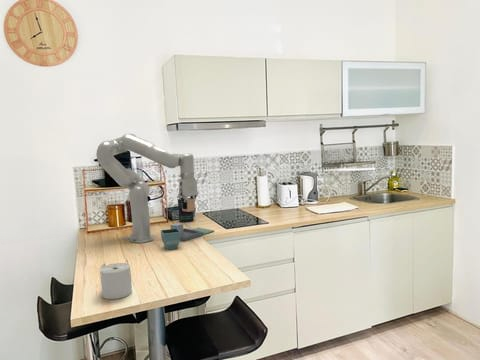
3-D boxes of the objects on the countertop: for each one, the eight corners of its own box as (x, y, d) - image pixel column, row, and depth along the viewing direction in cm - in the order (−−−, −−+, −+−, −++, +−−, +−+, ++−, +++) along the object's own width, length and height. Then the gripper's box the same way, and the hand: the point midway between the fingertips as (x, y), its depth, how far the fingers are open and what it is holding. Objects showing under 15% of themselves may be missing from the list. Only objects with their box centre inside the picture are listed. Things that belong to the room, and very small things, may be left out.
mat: (204, 234, 222) (204, 233, 222) (188, 231, 231) (188, 230, 231) (214, 231, 228) (214, 230, 228) (198, 228, 237) (198, 227, 237)
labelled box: (188, 211, 214) (187, 200, 213) (182, 210, 217) (181, 199, 216) (194, 210, 218) (194, 198, 217) (188, 209, 221) (188, 197, 220)
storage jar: (190, 222, 254) (189, 200, 252) (176, 222, 256) (175, 200, 254) (195, 219, 264) (194, 197, 262) (182, 219, 266) (180, 198, 264)
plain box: (176, 237, 217) (176, 225, 217) (171, 235, 221) (170, 224, 220) (183, 235, 221) (183, 224, 220) (178, 233, 224) (177, 223, 224)
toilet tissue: (124, 300, 138) (121, 273, 137) (93, 299, 140) (90, 272, 139) (137, 288, 148) (134, 263, 147) (108, 287, 150) (105, 262, 149)
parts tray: (184, 241, 210) (183, 237, 209) (165, 237, 220) (165, 233, 220) (203, 235, 220) (202, 231, 220) (184, 232, 231) (184, 228, 230)
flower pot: (178, 244, 205) (176, 227, 204) (181, 248, 197) (180, 231, 196) (161, 246, 202) (160, 230, 201) (164, 251, 194) (163, 233, 193)
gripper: (179, 177, 206) (181, 211, 208) (203, 174, 219) (204, 206, 221) (170, 177, 211) (172, 209, 213) (194, 174, 224) (195, 205, 226)
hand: (188, 207), depth 217 cm, fingers closed on labelled box, 5 cm apart
